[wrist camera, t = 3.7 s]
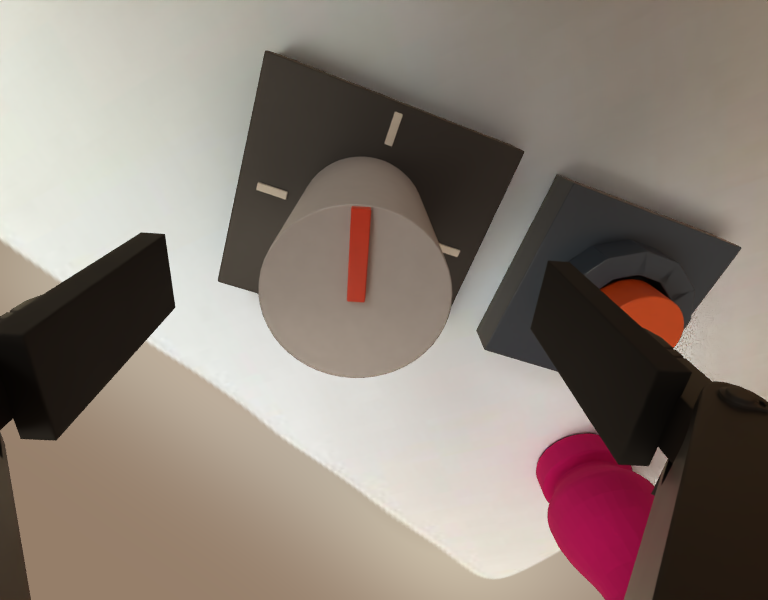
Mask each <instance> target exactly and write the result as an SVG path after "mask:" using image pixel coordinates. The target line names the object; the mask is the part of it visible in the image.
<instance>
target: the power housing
mask: <svg viewBox="0 0 768 600" xmlns="http://www.w3.org/2000/svg"><path fill="white" fill-rule="evenodd" d="M740 250H741V247H740V246H737V245H735V244H733V243H731V242H729V241H726V240H724V239H722V238H720V237H718V236H716V235H713V234H711V233H708V232H706V231H703V230H700V229H698V228H695V227H693V226H690V225H688V224H685V223H682V222H680V221H677V220H675V219H672V218H669V217H667V216H664V215H662V214H659V213H656V212H654V211H651V210H649V209H646V208H644V207H641V206H638V205H636V204H633V203H631V202H628V201H625V200H623V199H620V198H618V197H615V196H613V195H610V194H607V193H605V192H602V191H600V190H597V189H594V188H592V187H589V186H587V185H584V184H582V183H579V182H576V181H574V180H571V179H569V178H566V177H563V176H561V175H557V176H556V178H555V180H554V182H553V184H552V186H551V187H550V189H549V191H548V193H547V195H546V197H545V199H544V201H543V203H542V205H541V207H540V209H539V211H538V213H537V215H536V216H535V218H534V220H533V222H532V224H531V226H530V228H529V230H528V232H527V234H526V236H525V238H524V240H523V242H522V244H521V245H520V247H519V249H518V251H517V253H516V255H515V257H514V259H513V261H512V263H511V265H510V267H509V269H508V271H507V273H506V274H505V276H504V278H503V280H502V282H501V284H500V286H499V288H498V290H497V292H496V294H495V296H494V298H493V300H492V302H491V303H490V305H489V307H488V309H487V311H486V313H485V315H484V317H483V319H482V321H481V323H480V325H479V327H478V329H477V333H478V335H479V337H480V340H481V342H482V345H483V347H484V349H485V350H487V351H491V352H494V353H497V354H501V355H504V356H507V357H511V358H514V359H517V360H521V361H524V362H527V363H531V364H534V365H537V366H541V367H544V368H547V369H551V370H554V371H557V369H556V368H555V366H554V365H553V363H552V361H551V360H550V358H549V357H548V355H547V354H546V352H545V351H544V349H543V348H542V346H541V344H540V343H539V341H538V340H537V338H536V337H535V335H534V334H533V332H532V331H531V329H530V328H531V324H532V320H533V317H534V313H535V309H536V305H537V301H538V297H539V293H540V289H541V286H542V282H543V278H544V274H545V270H546V266H547V262H548V261H563V262H570V263H571V264H572V265H573V266H574V267H575V268H577V269H578V270H579V271H580V272H581V273H582V274H583V275H584V276H585V277H587V278H588V279H589V280H590V281H591V282H592V283H593V284H594V285H596V286H597V287H598V288H599V289H601V288H603V287H604V286H606V285H608V284H610V283H612V282H615V281H619V280H624V279H636V280H641V281H644V282H646V283H648V284H650V285H651V286H653V287H654V288H655V289H657V290H658V291H659V292H661V293H662V294H664V295H665V296H666V297H668V298H669V299H670V300H672V301H673V302H674V303H675V304H676V305H678V307H679V308H680V310H681V312H682V314H683V318H684V328H683V330H684V329H685V327H686V326H687V325H688V323H689V321H690V320H691V315H692V313H693V312H694V311H695V309H696V308H697V307H698V305H699V304H700V303H701V301H702V300H703V299H704V298H705V296H706V295H707V294H708V292H709V291H710V290H711V288H712V287H713V286H714V284H715V283H716V282H717V280H718V279H719V278H720V276H721V275H722V274H723V272H724V271H725V270H726V268H727V267H728V266H729V264H730V263H731V262H732V260H733V259H734V258H735V256H736V255H737V254H738V252H739V251H740ZM557 372H558V371H557Z"/></svg>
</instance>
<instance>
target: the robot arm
mask: <svg viewBox="0 0 768 600" xmlns="http://www.w3.org/2000/svg"><path fill="white" fill-rule="evenodd" d="M174 308H175V302H174V295H173V288H172V281H171V274H170V267H169V260H168V253H167V246H166V239H165V234H155V233H140V234H138V235H137V236H135V237H133V238H132V239H130V240H129V241H127V242H126V243H124V244H122V245H121V246H119V247H118V248H116V249H114V250H113V251H111V252H110V253H108V254H106V255H105V256H103V257H102V258H100V259H99V260H97V261H95V262H94V263H92V264H91V265H89V266H87V267H86V268H84V269H83V270H81V271H80V272H78V273H76V274H75V275H73V276H72V277H70V278H68V279H67V280H65V281H64V282H62V283H60V284H59V285H57V286H56V287H55V288H53V289H51V290H49V291H48V292H46V293H45V294H43V295H40V296H37V297H35V298H32V299H29V300H27V301H25V302H23V303H21V304H20V305H18V306H16V307H15V308H13V309H12V310H11V311H10V312H7V313H5V314H4V315H2V316H0V430H1V429H2V428H3V427H4V426H5V425H6V424H7V423H8V422H9V421H11V420H12V419H14V421H15V424H16V427H17V429H18V432H19V435H20V438H21V439H35V440H57V439H58V438H59V437H60V436H61V435H62V433H63V432H64V431H65V430H66V429H67V428H68V427H69V426H70V424H71V423H72V422H73V421H74V420H75V419H76V418H77V417H78V415H79V414H80V413H81V412H82V411H83V410H84V409H85V408H86V407H87V406H88V404H89V403H90V402H91V401H92V400H93V399H94V398H95V397H96V395H97V394H98V393H99V392H100V391H101V390H102V389H103V387H105V385H106V384H107V383H108V382H109V381H110V380H111V379H112V378H113V376H114V375H115V374H116V373H117V372H118V371H119V370H120V369H121V368H122V366H123V365H124V364H125V363H126V362H127V361H128V360H129V358H130V357H131V356H132V355H133V354H134V353H135V352H136V351H137V350H138V349H139V347H140V346H141V345H142V344H143V343H144V342H145V341H146V340H147V339H148V337H149V336H150V335H151V334H152V333H153V332H154V331H155V330H156V328H157V327H158V326H159V325H160V324H161V323H162V322H163V321H164V320H165V318H166V317H167V316H168V315H169V314H170V313H171V312H172V311H173V309H174ZM530 329H531V331H532V332H533V334H534V335H535V337H536V338H537V340H538V341H539V343H540V344H541V346H542V348H543V349H544V351H545V352H546V354H547V355H548V357H549V358H550V360H551V361H552V363H553V365H554V366H555V368H556V369H557V371H558V372H559V374H560V375H561V377H562V378H563V380H564V382H565V383H566V385H567V386H568V388H569V389H570V391H571V392H572V394H573V395H574V397H575V399H576V400H577V402H578V403H579V405H580V406H581V408H582V409H583V411H584V412H585V414H586V416H587V417H588V419H589V420H590V422H591V423H592V425H593V426H594V428H595V429H596V431H597V433H598V434H599V436H600V437H601V439H602V440H603V442H604V443H605V445H606V446H607V448H608V450H609V451H610V453H611V454H612V456H613V457H614V459H615V460H616V462H617V463H618V465H636V466H649V465H650V462H651V460H652V458H653V456H654V454H655V452H656V450H657V447H659V448H660V449H661V451H662V452H663V453H664V454H665V456H666V457H667V458H668V460H667V462H666V464H665V466H664V468H663V470H662V472H661V474H660V477H659V479H658V481H657V483H656V485H655V487H654V489H653V491H652V493H651V494H652V495H654V496H655V497H654V500H653V504H652V507H651V510H650V514H649V517H648V520H647V524H646V527H645V530H644V534H643V537H642V540H641V544H640V547H639V550H638V554H637V557H636V561H635V564H634V567H633V571H632V574H631V577H630V581H629V584H628V587H627V591H626V594H625V597H624V600H768V402H767V401H766V400H765V399H763V398H761V397H760V396H758V395H757V394H755V393H753V392H751V391H749V390H747V389H744V388H742V387H740V386H736V385H733V384H729V383H724V382H716V381H714V382H712V381H711V380H710V379H709V378H707V377H706V376H705V375H704V374H703V373H702V372H700V371H699V370H698V369H697V368H696V367H695V366H694V365H692V364H691V363H690V362H689V361H688V360H687V359H684V358H683V356H682V355H681V354H680V353H679V352H678V351H676V350H673V347H672V346H671V345H670V344H668V343H667V342H666V341H665V340H664V339H663V338H662V337H660V336H658V335H656V334H654V333H653V332H651V331H649V330H647V329H645V328H642V327H641V326H640V325H639V324H638V323H637V322H636V321H635V320H633V319H632V318H631V317H630V316H629V315H628V314H627V313H626V312H625V311H623V310H622V309H621V308H620V307H619V306H618V305H617V304H616V303H614V302H613V301H612V300H611V299H610V298H609V297H608V296H607V295H606V294H604V293H603V292H602V291H601V290H600V289H599V288H598V287H597V286H596V285H594V284H593V283H592V282H591V281H590V280H589V279H588V278H587V277H585V276H584V275H583V274H582V273H581V272H580V271H579V270H578V269H577V268H575V267H574V266H573V265H572V264H571V263H570V262H563V261H548V262H547V266H546V270H545V274H544V278H543V282H542V286H541V289H540V293H539V297H538V301H537V305H536V309H535V313H534V317H533V320H532V324H531V328H530ZM0 600H31V597H30V591H29V586H28V581H27V574H26V569H25V562H24V556H23V550H22V544H21V538H20V532H19V526H18V520H17V514H16V508H15V503H14V497H13V491H12V485H11V479H10V473H9V467H8V461H7V455H6V449H5V444H4V441H3V438H2V436H1V433H0Z"/></svg>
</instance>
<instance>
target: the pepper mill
mask: <svg viewBox="0 0 768 600" xmlns="http://www.w3.org/2000/svg"><path fill="white" fill-rule="evenodd" d="M536 475H537V479H538V481H539V484H540V486H541V489H542V491H543V494H544V496H545V498H546V500H547V501H548V502H549V503H550V504H549V508H548V524H549V527H550V530H551V532H552V534H553V536H554V538H555V540H556V542H557V544H558V546H559V548H560V549H561V551H562V552H563V553H564V555H565V556H566V557H567V559H568V560H569V561H570V563H571V564H572V565H573V566H574V567H575V568H576V569H577V570H578V571H579V572H580V573H581V574H582V575H583V576H584V577H585V578H586V579H587V580H588V581H589V582H590V583H591V584H592V585H593V586H594V587H595V588H596V589H597V590H598V591H599V592H600V593H601V594H602V596H603V597H604V599H605V600H624V597H625V594H626V591H627V587H628V584H629V581H630V577H631V574H632V571H633V567H634V564H635V561H636V557H637V554H638V550H639V547H640V544H641V540H642V537H643V534H644V530H645V527H646V524H647V520H648V517H649V514H650V510H651V507H652V504H653V500H654V497H655V496H654V495H652V494H651V493H652V491H653V489H654V486H653V485H652V484H651V483H650V481H648V480H647V479H645V478H644V477H642V476H641V475H639V474H637V473H635V472H633V471H632V468H631V465H618V463H617V462H616V460H615V459H614V457H613V456H612V454H611V453H610V451H609V450H608V448H607V446H606V445H605V443H604V442H603V440H602V439H601V437H600V436H599V435H596V434H591V433H587V434H576V435H573V436H569V437H565V438H563V439H561V440H559V441H557V442H555V443H554V444H553V445H552V446H550V447H549V448H548V449H546V451H545V452H544V453H543V454H542V456H541V457H540V458H539V461H538V464H537V468H536Z"/></svg>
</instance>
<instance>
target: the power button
mask: <svg viewBox="0 0 768 600" xmlns="http://www.w3.org/2000/svg"><path fill="white" fill-rule="evenodd" d="M600 290H601V291H602V292H603V293H604V294H606V295H607V296H608V297H609V298H610V299H611V300H612V301H613V302H614V303H616V304H617V305H618V306H619V307H620V308H621V309H622V310H623V311H625V312H626V313H627V314H628V315H629V316H630V317H631V318H632V319H633V320H635V321H636V322H637V323H638V324H639V325H640V326H641V327H642V328H645V329H647V330H649V331H651V332H653V333H654V334H656V335H658V336H660V337H662V338H663V339H664V340H665V341H666V342H667V343H668V344H670V345H671V346H672V347H673V348H674V347H675V346H676V344H677V343H678V341H679V339H680V337H681V335H682V332H683V328H684V318H683V314H682V312H681V310H680V308H679V307H678V305H676V304H675V303H674V302H673V301H672V300H670V299H669V298H668V297H666V296H665V295H664V294H662V293H661V292H659V291H658V290H657V289H655V288H654V287H653V286H651V285H650V284H648V283H646V282H644V281H641V280H636V279H624V280H619V281H615V282H612V283H610V284H608V285H606V286H604V287H603V288H601V289H600Z"/></svg>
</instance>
